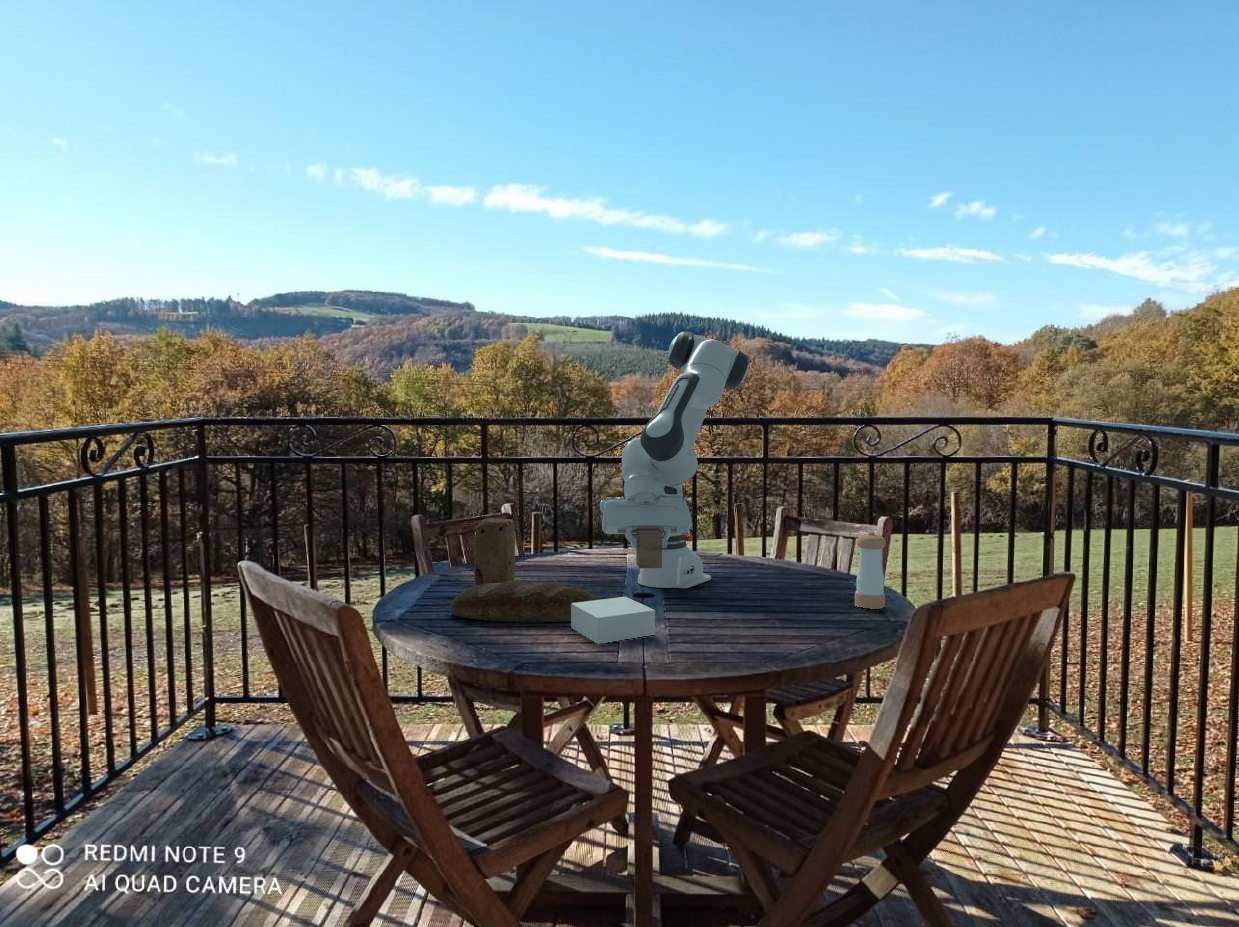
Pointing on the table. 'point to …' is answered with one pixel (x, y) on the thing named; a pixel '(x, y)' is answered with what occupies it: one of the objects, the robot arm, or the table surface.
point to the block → (494, 551)
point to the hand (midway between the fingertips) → (649, 546)
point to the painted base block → (612, 619)
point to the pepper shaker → (870, 572)
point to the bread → (519, 602)
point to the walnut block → (649, 548)
